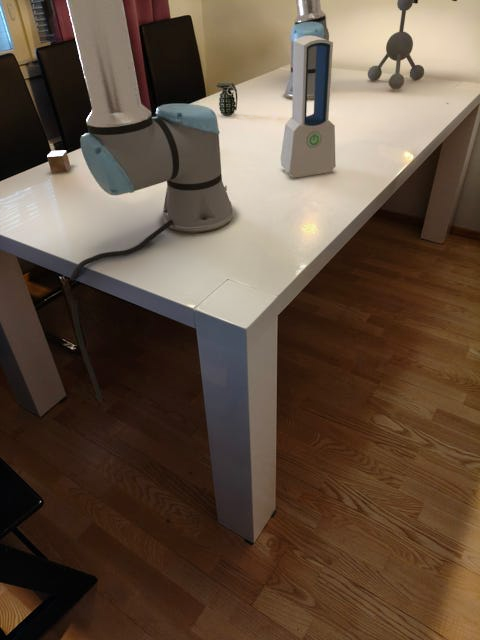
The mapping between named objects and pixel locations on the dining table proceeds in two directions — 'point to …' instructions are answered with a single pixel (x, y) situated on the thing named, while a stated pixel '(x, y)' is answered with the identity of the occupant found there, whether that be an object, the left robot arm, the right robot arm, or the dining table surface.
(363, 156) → the dining table surface
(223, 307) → the dining table surface
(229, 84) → the grenade
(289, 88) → the right robot arm
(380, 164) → the dining table surface
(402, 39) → the molecular model
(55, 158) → the block
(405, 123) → the dining table surface
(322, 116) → the electronic device
